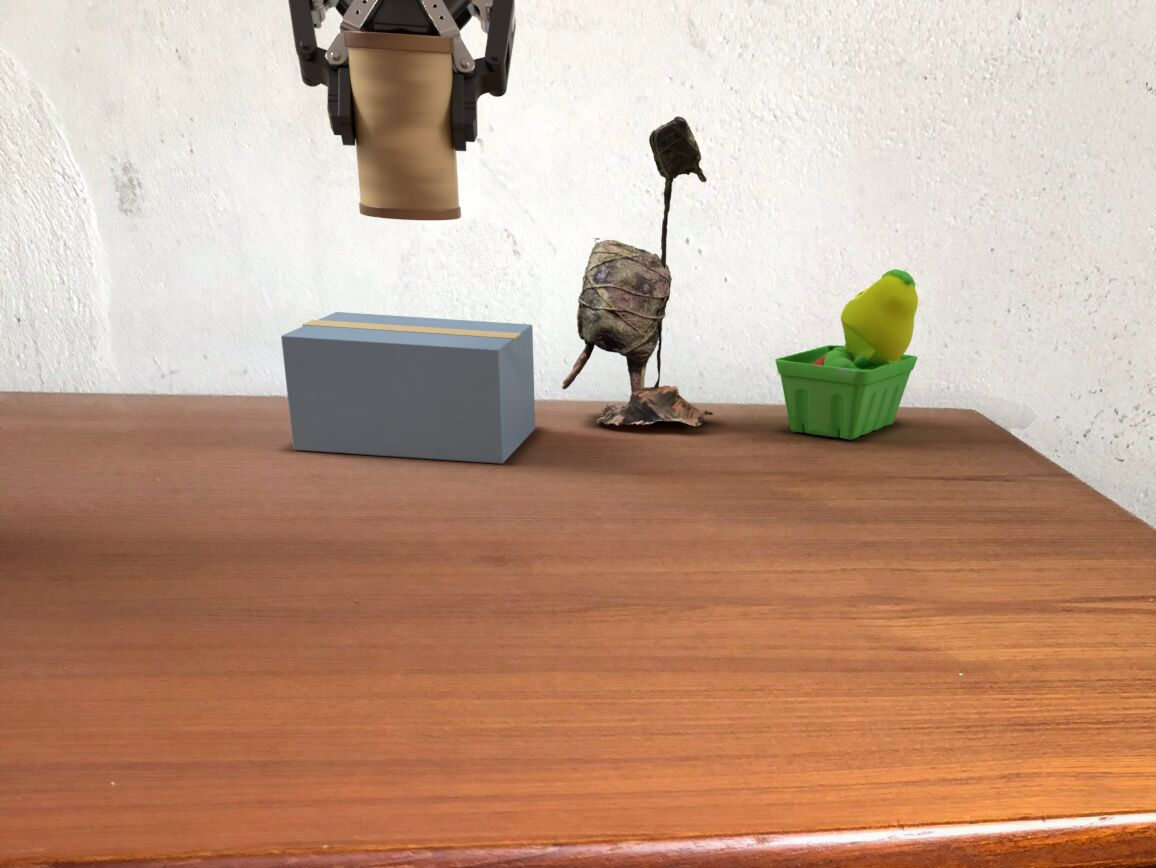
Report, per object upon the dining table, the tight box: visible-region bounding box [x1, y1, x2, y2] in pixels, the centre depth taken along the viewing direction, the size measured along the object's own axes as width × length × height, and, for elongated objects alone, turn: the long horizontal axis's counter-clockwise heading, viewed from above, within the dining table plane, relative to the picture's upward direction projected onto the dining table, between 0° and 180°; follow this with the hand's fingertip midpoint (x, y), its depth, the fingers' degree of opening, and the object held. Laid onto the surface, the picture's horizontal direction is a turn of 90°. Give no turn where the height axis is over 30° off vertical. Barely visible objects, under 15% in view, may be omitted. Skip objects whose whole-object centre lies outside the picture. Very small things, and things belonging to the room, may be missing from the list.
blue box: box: [280, 311, 536, 465], centre depth 103 cm, size 14×12×7 cm
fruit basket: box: [775, 268, 919, 441], centre depth 113 cm, size 11×9×11 cm
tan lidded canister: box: [343, 31, 462, 221], centre depth 92 cm, size 6×6×10 cm
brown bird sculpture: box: [561, 115, 715, 427], centre depth 108 cm, size 8×11×20 cm
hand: (403, 137), depth 90 cm, fingers closed on tan lidded canister, 6 cm apart
